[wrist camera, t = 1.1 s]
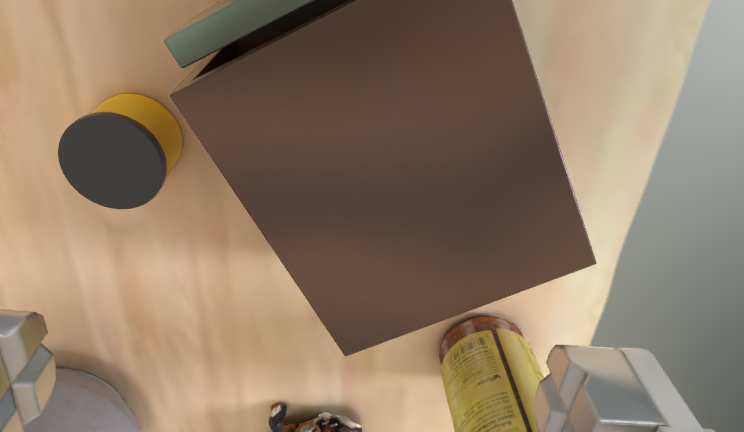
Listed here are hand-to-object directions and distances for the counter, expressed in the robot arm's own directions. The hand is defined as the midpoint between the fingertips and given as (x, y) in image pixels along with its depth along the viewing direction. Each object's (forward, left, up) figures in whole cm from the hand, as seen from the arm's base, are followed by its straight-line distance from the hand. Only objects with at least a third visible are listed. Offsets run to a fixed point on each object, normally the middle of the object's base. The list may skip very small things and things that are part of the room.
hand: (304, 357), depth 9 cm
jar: (+12, -1, -22) cm, 25 cm away
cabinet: (-1, +4, -22) cm, 22 cm away
